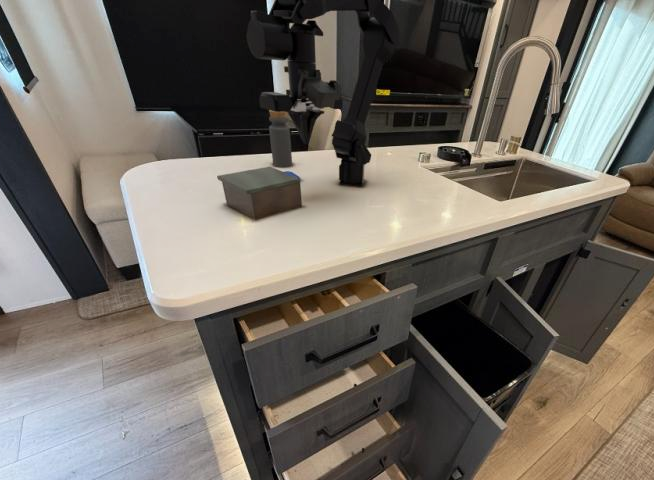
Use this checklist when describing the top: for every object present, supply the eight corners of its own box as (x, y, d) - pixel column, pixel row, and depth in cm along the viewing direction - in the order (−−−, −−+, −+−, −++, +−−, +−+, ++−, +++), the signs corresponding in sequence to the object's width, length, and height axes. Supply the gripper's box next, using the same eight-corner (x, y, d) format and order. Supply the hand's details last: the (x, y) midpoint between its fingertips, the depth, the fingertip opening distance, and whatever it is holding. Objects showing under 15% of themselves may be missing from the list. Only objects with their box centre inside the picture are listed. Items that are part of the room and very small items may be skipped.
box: (255, 220, 68) (250, 193, 65) (226, 204, 73) (221, 178, 70) (302, 206, 76) (300, 182, 73) (273, 193, 81) (270, 169, 78)
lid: (247, 194, 64) (246, 190, 64) (217, 179, 70) (216, 175, 69) (300, 182, 73) (300, 178, 72) (270, 169, 78) (269, 166, 78)
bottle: (289, 168, 100) (285, 112, 91) (270, 166, 99) (264, 110, 90) (294, 163, 104) (290, 110, 95) (276, 161, 104) (270, 108, 95)
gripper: (288, 63, 57) (295, 156, 66) (360, 68, 69) (358, 146, 78) (252, 57, 62) (263, 145, 71) (325, 63, 74) (327, 137, 83)
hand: (306, 143), depth 76 cm, fingers closed
